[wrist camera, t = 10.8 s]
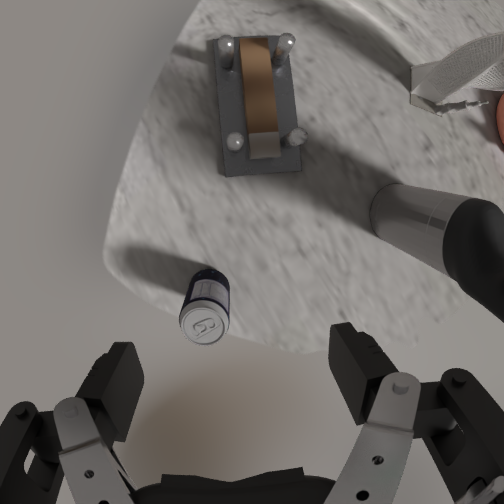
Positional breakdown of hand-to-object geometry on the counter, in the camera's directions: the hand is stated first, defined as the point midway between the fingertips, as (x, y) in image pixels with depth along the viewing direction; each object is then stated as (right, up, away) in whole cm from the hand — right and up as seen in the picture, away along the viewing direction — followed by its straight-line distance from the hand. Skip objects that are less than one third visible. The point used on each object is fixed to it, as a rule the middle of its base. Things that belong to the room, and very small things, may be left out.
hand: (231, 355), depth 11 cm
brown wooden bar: (+2, +24, +23) cm, 33 cm away
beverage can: (-5, -1, +31) cm, 32 cm away
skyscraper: (+29, +31, +25) cm, 49 cm away
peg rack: (+1, +24, +24) cm, 34 cm away
